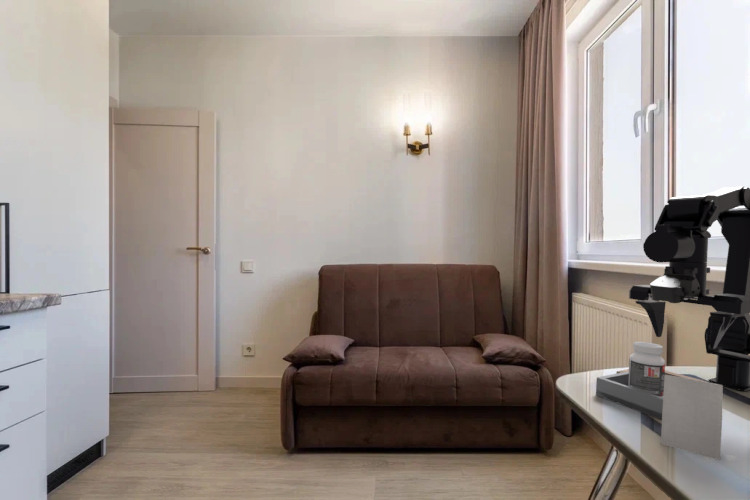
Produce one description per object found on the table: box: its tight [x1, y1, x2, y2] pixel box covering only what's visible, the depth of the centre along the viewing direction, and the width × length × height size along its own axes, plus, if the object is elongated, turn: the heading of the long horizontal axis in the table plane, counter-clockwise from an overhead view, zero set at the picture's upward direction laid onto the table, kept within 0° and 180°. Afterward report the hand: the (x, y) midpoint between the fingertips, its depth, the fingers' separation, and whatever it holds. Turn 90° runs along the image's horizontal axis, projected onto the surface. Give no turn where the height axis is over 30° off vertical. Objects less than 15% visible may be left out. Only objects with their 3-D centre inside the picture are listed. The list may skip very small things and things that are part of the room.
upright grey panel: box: [660, 374, 724, 460], centre depth 60 cm, size 4×7×10 cm, turn 53°
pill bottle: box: [628, 341, 666, 397], centre depth 77 cm, size 6×6×10 cm
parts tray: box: [595, 371, 663, 421], centre depth 77 cm, size 12×12×4 cm
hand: (684, 342), depth 78 cm, fingers open, 9 cm apart
